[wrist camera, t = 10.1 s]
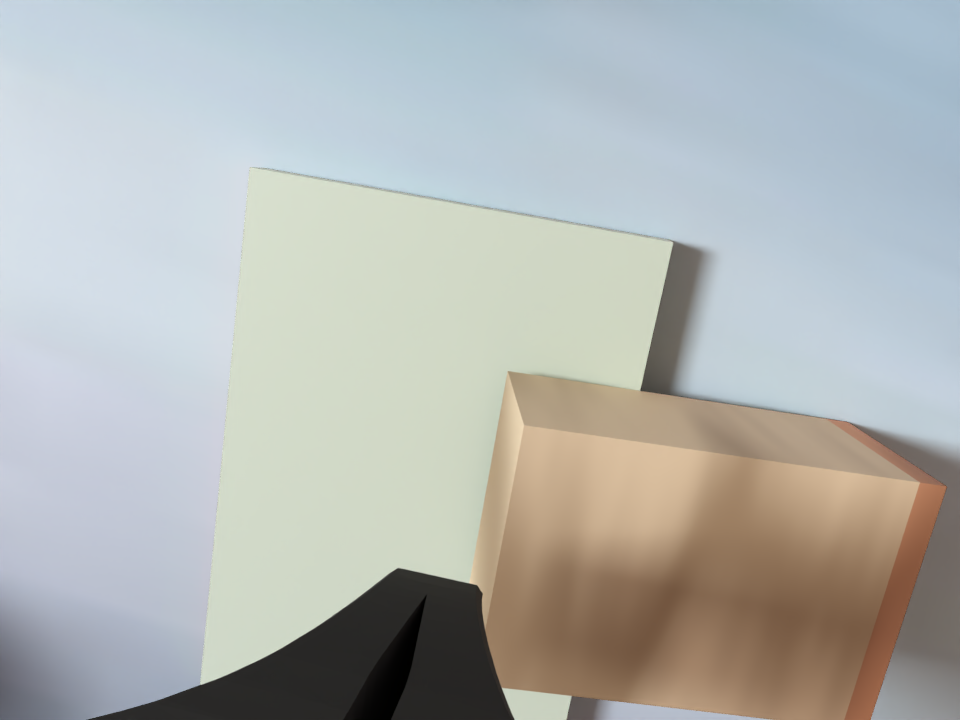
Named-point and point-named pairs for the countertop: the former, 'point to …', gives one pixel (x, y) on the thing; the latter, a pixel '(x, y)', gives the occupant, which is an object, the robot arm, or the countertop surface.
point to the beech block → (695, 552)
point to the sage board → (393, 390)
